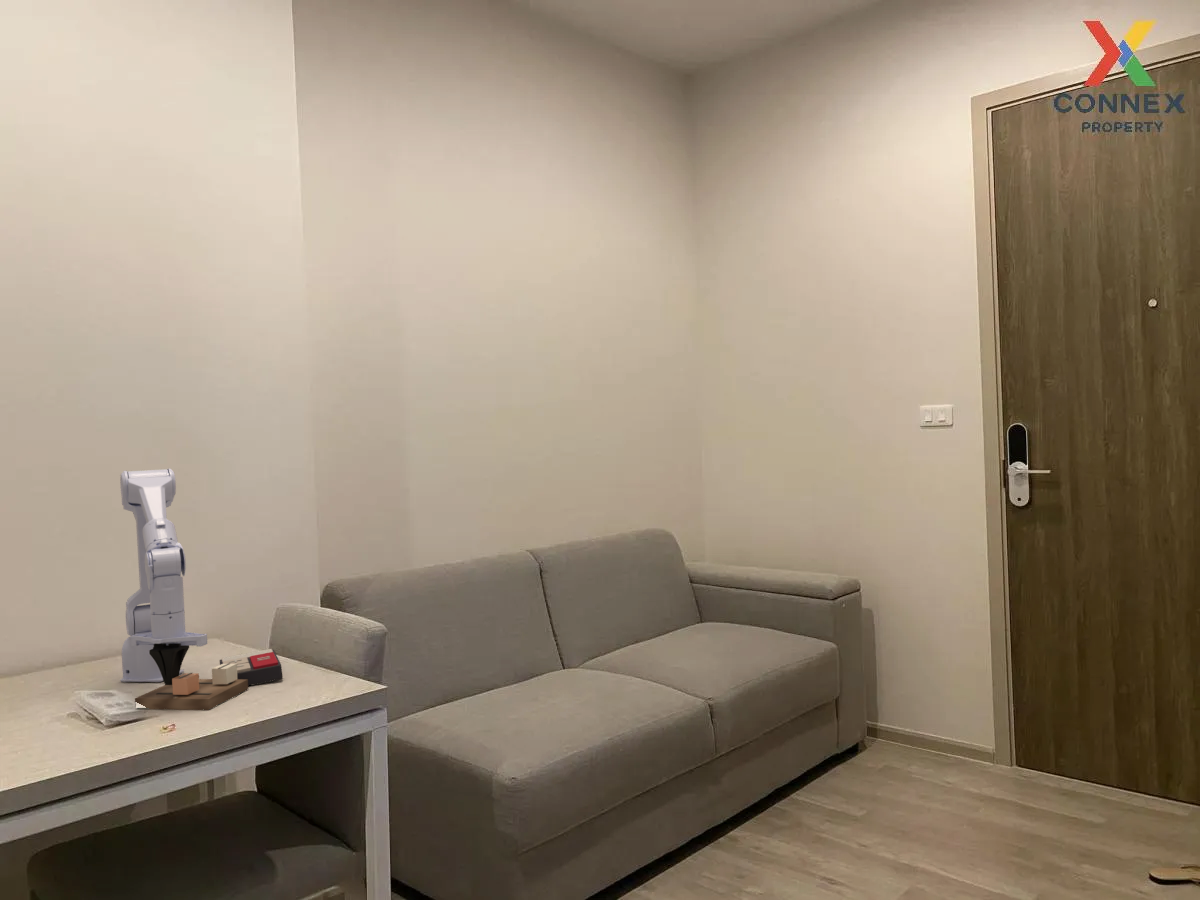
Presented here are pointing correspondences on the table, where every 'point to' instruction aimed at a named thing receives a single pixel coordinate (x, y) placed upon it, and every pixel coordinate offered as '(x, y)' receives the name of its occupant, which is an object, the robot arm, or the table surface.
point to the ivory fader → (224, 673)
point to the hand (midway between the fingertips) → (171, 683)
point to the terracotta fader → (185, 683)
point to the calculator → (256, 666)
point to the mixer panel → (192, 696)
